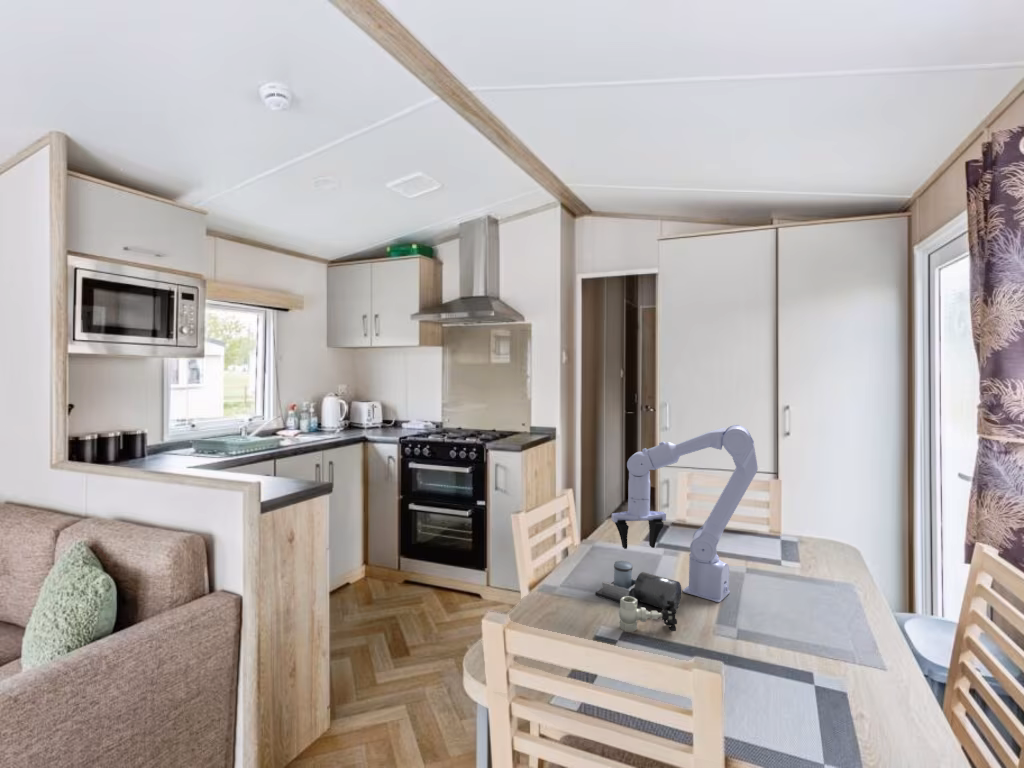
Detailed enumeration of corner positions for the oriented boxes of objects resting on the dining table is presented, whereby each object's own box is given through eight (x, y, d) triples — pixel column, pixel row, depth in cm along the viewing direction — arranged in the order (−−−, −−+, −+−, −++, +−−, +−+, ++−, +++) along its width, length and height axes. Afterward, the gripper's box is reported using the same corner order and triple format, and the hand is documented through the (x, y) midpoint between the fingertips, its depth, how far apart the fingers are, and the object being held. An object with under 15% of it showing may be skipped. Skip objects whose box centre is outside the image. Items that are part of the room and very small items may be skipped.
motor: (683, 603, 135) (684, 575, 134) (666, 618, 127) (666, 588, 127) (615, 583, 147) (615, 557, 147) (595, 595, 140) (595, 568, 139)
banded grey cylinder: (623, 585, 143) (624, 559, 143) (635, 592, 139) (636, 565, 139) (609, 589, 141) (610, 562, 141) (621, 596, 137) (622, 568, 137)
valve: (620, 635, 120) (676, 637, 119) (621, 605, 119) (677, 607, 118) (617, 620, 126) (670, 623, 125) (617, 592, 126) (670, 594, 125)
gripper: (617, 501, 142) (616, 553, 143) (671, 500, 144) (670, 551, 145) (609, 495, 149) (608, 544, 150) (660, 493, 151) (659, 542, 152)
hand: (638, 547), depth 148 cm, fingers open, 7 cm apart
